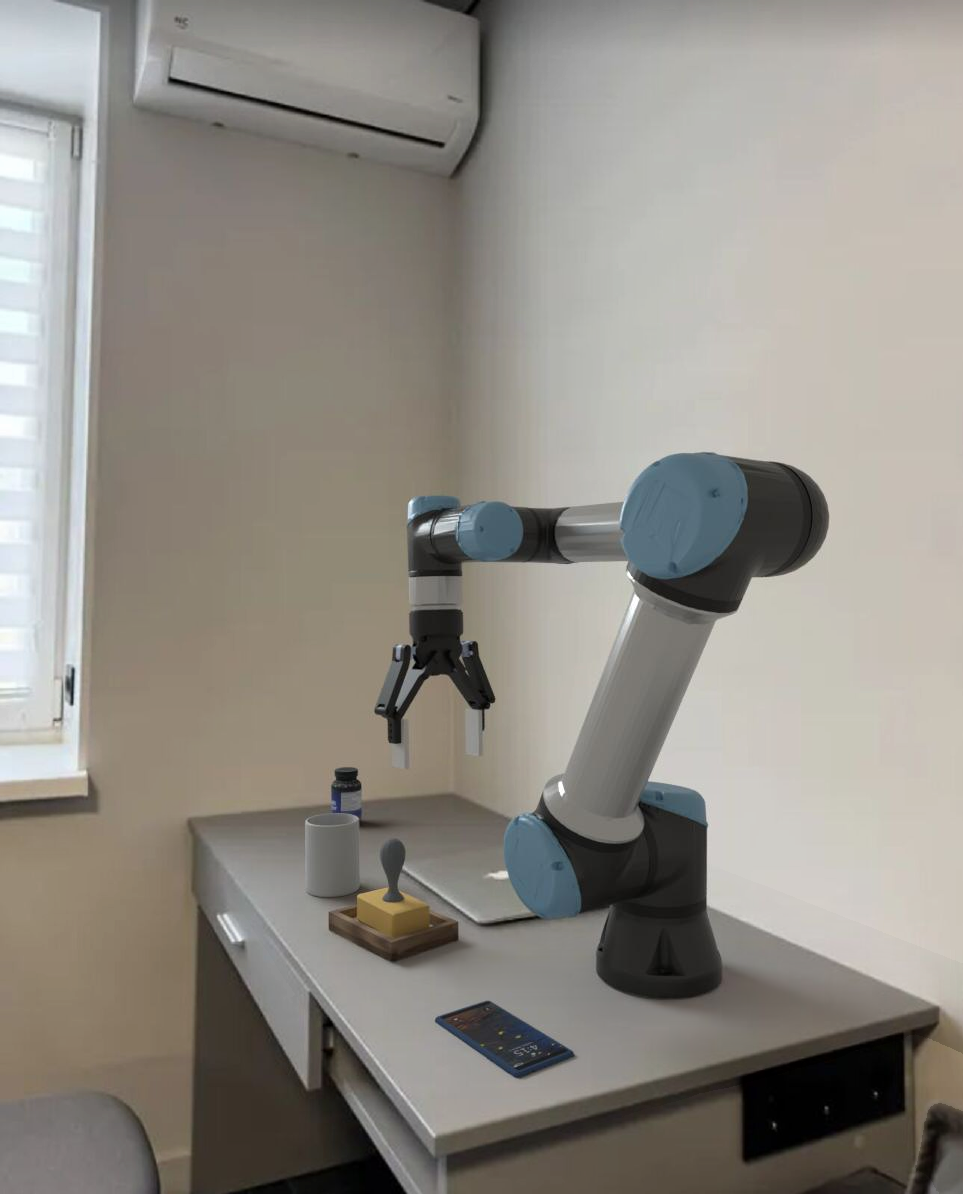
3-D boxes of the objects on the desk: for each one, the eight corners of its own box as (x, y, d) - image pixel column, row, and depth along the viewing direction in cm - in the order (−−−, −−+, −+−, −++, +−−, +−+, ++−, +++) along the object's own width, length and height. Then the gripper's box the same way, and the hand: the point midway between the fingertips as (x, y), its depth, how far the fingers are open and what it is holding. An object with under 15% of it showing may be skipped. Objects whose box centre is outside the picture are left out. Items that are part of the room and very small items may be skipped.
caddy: (458, 940, 124) (458, 921, 124) (391, 962, 116) (391, 942, 116) (393, 911, 135) (393, 894, 135) (328, 929, 128) (328, 911, 128)
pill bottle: (329, 821, 188) (328, 767, 188) (359, 818, 190) (358, 765, 190) (333, 828, 182) (333, 772, 182) (364, 825, 184) (363, 770, 184)
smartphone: (488, 998, 105) (576, 1051, 93) (488, 1005, 105) (576, 1059, 93) (432, 1016, 101) (516, 1074, 88) (432, 1024, 101) (516, 1083, 88)
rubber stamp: (430, 931, 124) (430, 842, 123) (394, 941, 120) (393, 850, 120) (391, 911, 131) (390, 827, 131) (355, 920, 128) (355, 834, 128)
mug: (364, 893, 143) (364, 823, 143) (309, 900, 140) (309, 828, 140) (349, 871, 154) (349, 806, 154) (298, 877, 151) (298, 810, 151)
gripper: (481, 607, 139) (484, 747, 139) (346, 609, 122) (349, 770, 122) (517, 606, 134) (520, 752, 134) (381, 609, 117) (384, 776, 116)
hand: (438, 761), depth 128 cm, fingers open, 13 cm apart
